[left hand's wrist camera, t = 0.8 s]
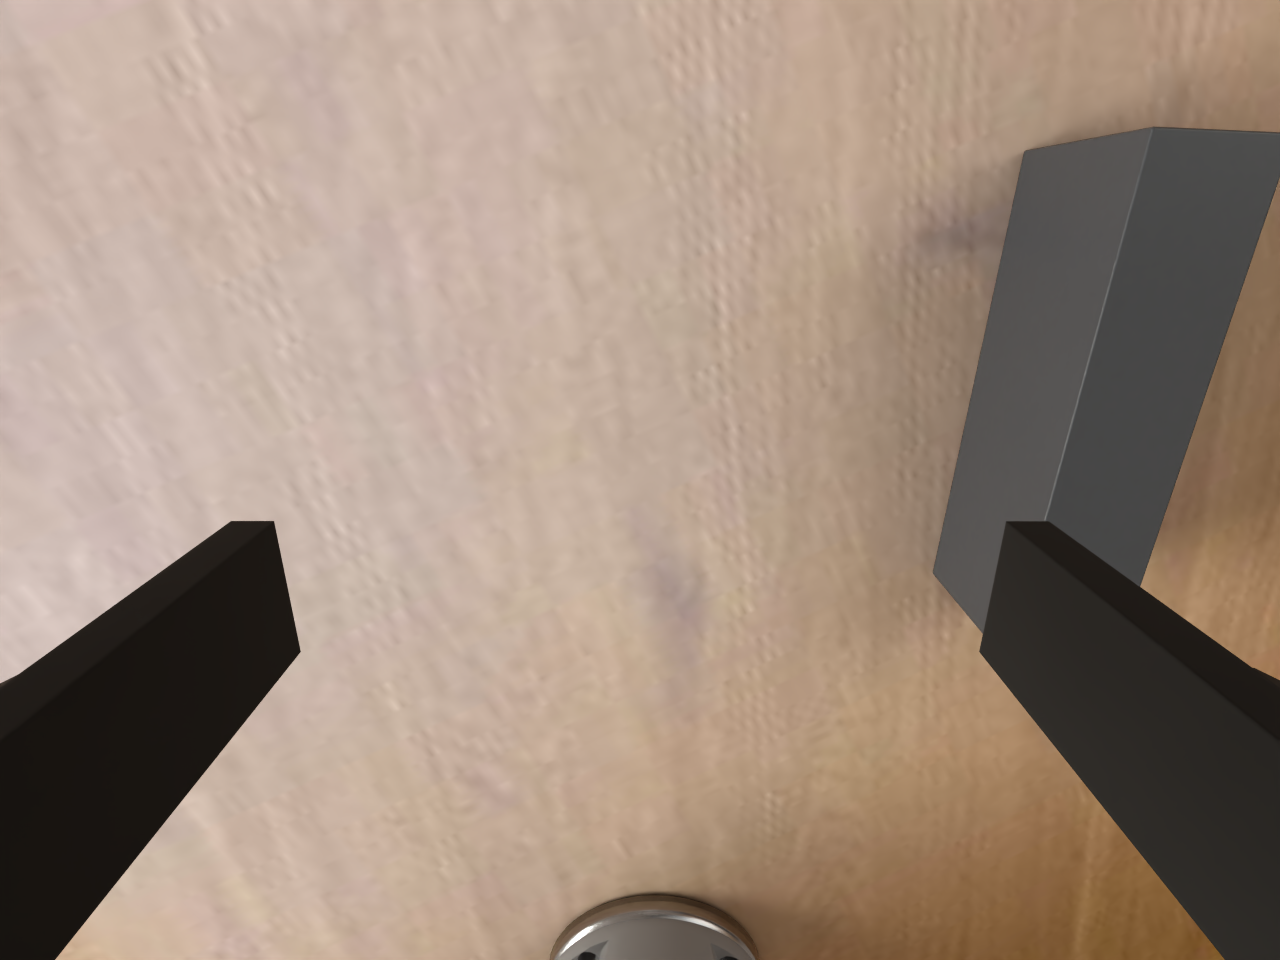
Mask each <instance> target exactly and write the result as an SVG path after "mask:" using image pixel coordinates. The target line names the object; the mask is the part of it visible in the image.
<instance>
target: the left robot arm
mask: <svg viewBox="0 0 1280 960" xmlns="http://www.w3.org/2000/svg"><path fill="white" fill-rule="evenodd" d="M300 652H301V651H300V646H299V641H298V637H297V632H296V627H295V622H294V617H293V612H292V607H291V602H290V597H289V593H288V588H287V583H286V578H285V573H284V568H283V563H282V558H281V553H280V548H279V544H278V539H277V534H276V529H275V524H274V521H231V522H229V523H228V524H227V525H225V526H224V527H222V528H221V529H220V530H218V531H217V532H216V533H214V534H213V535H211V536H210V537H209V538H207V539H206V540H204V541H203V542H202V543H200V544H199V545H197V546H196V547H195V548H193V549H192V550H191V551H189V552H188V553H186V554H185V555H184V556H182V557H181V558H179V559H178V560H177V561H175V562H174V563H173V564H171V565H170V566H168V567H167V568H166V569H164V570H163V571H161V572H160V573H159V574H157V575H156V576H154V577H153V578H152V579H150V580H149V581H148V582H146V583H145V584H143V585H142V586H141V587H139V588H138V589H136V590H135V591H134V592H132V593H131V594H130V595H128V596H127V597H125V598H124V599H123V600H121V601H120V602H118V603H117V604H116V605H114V606H113V607H111V608H110V609H109V610H107V611H106V612H105V613H103V614H102V615H100V616H99V617H98V618H96V619H95V620H93V621H92V622H91V623H89V624H88V625H87V626H85V627H84V628H82V629H81V630H80V631H78V632H77V633H75V634H74V635H73V636H71V637H70V638H68V639H67V640H66V641H64V642H63V643H62V644H60V645H59V646H57V647H56V648H55V649H53V650H52V651H50V652H49V653H48V654H46V655H45V656H44V657H42V658H41V659H39V660H38V661H37V662H35V663H34V664H32V665H31V666H30V667H28V668H27V669H26V670H24V671H23V672H21V673H20V674H19V675H17V676H15V677H13V678H10V679H8V680H6V681H4V682H2V683H0V960H55V959H56V958H57V957H58V955H59V954H60V953H61V952H62V950H63V949H64V948H65V947H66V945H67V944H68V943H69V942H70V940H71V939H72V938H73V936H74V935H75V934H76V933H77V931H78V930H79V929H80V928H81V926H82V925H83V924H84V923H85V921H86V920H87V919H88V918H89V916H90V915H91V914H92V913H93V911H94V910H95V909H96V908H97V906H98V905H99V904H100V903H101V901H102V900H103V899H104V898H105V896H106V895H107V894H108V893H109V891H110V890H111V889H112V888H113V886H114V885H115V884H116V883H117V881H118V880H119V879H120V878H121V876H122V875H123V874H124V873H125V871H126V870H127V869H128V868H129V866H130V865H131V864H132V863H133V861H134V860H135V859H136V858H137V856H138V855H139V854H140V853H141V851H142V850H143V849H144V847H145V846H146V845H147V844H148V842H149V841H150V840H151V839H152V837H153V836H154V835H155V834H156V832H157V831H158V830H159V829H160V827H161V826H162V825H163V824H164V822H165V821H166V820H167V819H168V817H169V816H170V815H171V814H172V812H173V811H174V810H175V809H176V807H177V806H178V805H179V804H180V802H181V801H182V800H183V799H184V797H185V796H186V795H187V794H188V792H189V791H190V790H191V789H192V787H193V786H194V785H195V784H196V782H197V781H198V780H199V779H200V777H201V776H202V775H203V774H204V772H205V771H206V770H207V769H208V767H209V766H210V765H211V764H212V762H213V761H214V760H215V759H216V757H217V756H218V755H219V753H220V752H221V751H222V750H223V748H224V747H225V746H226V745H227V743H228V742H229V741H230V740H231V738H232V737H233V736H234V735H235V733H236V732H237V731H238V730H239V728H240V727H241V726H242V725H243V723H244V722H245V721H246V720H247V718H248V717H249V716H250V715H251V713H252V712H253V711H254V710H255V708H256V707H257V706H258V705H259V703H260V702H261V701H262V700H263V698H264V697H265V696H266V695H267V693H268V692H269V691H270V690H271V688H272V687H273V686H274V685H275V683H276V682H277V681H278V680H279V678H280V677H281V676H282V675H283V673H284V672H285V671H286V670H287V668H288V667H289V666H290V664H291V663H292V662H293V661H294V659H295V658H296V657H297V656H298V654H299V653H300ZM979 652H980V653H981V654H982V656H983V657H984V658H985V659H986V661H987V662H988V663H989V664H990V666H991V667H992V668H993V670H994V671H995V672H996V673H997V675H998V676H999V677H1000V678H1001V680H1002V681H1003V682H1004V683H1005V685H1006V686H1007V687H1008V688H1009V690H1010V691H1011V692H1012V693H1013V695H1014V696H1015V697H1016V698H1017V700H1018V701H1019V702H1020V703H1021V705H1022V706H1023V707H1024V708H1025V710H1026V711H1027V712H1028V713H1029V715H1030V716H1031V717H1032V718H1033V720H1034V721H1035V722H1036V723H1037V725H1038V726H1039V727H1040V728H1041V730H1042V731H1043V732H1044V733H1045V735H1046V736H1047V737H1048V738H1049V740H1050V741H1051V742H1052V743H1053V745H1054V746H1055V747H1056V748H1057V750H1058V751H1059V752H1060V753H1061V755H1062V756H1063V757H1064V759H1065V760H1066V761H1067V762H1068V764H1069V765H1070V766H1071V767H1072V769H1073V770H1074V771H1075V772H1076V774H1077V775H1078V776H1079V777H1080V779H1081V780H1082V781H1083V782H1084V784H1085V785H1086V786H1087V787H1088V789H1089V790H1090V791H1091V792H1092V794H1093V795H1094V796H1095V797H1096V799H1097V800H1098V801H1099V802H1100V804H1101V805H1102V806H1103V807H1104V809H1105V810H1106V811H1107V812H1108V814H1109V815H1110V816H1111V817H1112V819H1113V820H1114V821H1115V822H1116V824H1117V825H1118V826H1119V827H1120V829H1121V830H1122V831H1123V832H1124V834H1125V835H1126V836H1127V837H1128V839H1129V840H1130V841H1131V842H1132V844H1133V845H1134V846H1135V847H1136V849H1137V850H1138V851H1139V853H1140V854H1141V855H1142V856H1143V858H1144V859H1145V860H1146V861H1147V863H1148V864H1149V865H1150V866H1151V868H1152V869H1153V870H1154V871H1155V873H1156V874H1157V875H1158V876H1159V878H1160V879H1161V880H1162V881H1163V883H1164V884H1165V885H1166V886H1167V888H1168V889H1169V890H1170V891H1171V893H1172V894H1173V895H1174V896H1175V898H1176V899H1177V900H1178V901H1179V903H1180V904H1181V905H1182V906H1183V908H1184V909H1185V910H1186V911H1187V913H1188V914H1189V915H1190V916H1191V918H1192V919H1193V920H1194V921H1195V923H1196V924H1197V925H1198V926H1199V928H1200V929H1201V930H1202V931H1203V933H1204V934H1205V935H1206V936H1207V938H1208V939H1209V940H1210V942H1211V943H1212V944H1213V945H1214V947H1215V948H1216V949H1217V950H1218V952H1219V953H1220V954H1221V955H1222V957H1223V958H1224V959H1225V960H1280V680H1278V679H1276V678H1274V677H1272V676H1270V675H1268V674H1266V673H1263V672H1261V671H1259V670H1257V669H1255V668H1252V667H1250V666H1249V665H1248V664H1246V663H1245V662H1243V661H1242V660H1241V659H1239V658H1238V657H1236V656H1235V655H1234V654H1232V653H1231V652H1230V651H1228V650H1227V649H1225V648H1224V647H1223V646H1221V645H1220V644H1218V643H1217V642H1216V641H1214V640H1213V639H1212V638H1210V637H1209V636H1207V635H1206V634H1205V633H1203V632H1202V631H1200V630H1199V629H1198V628H1196V627H1195V626H1193V625H1192V624H1191V623H1189V622H1188V621H1187V620H1185V619H1184V618H1182V617H1181V616H1180V615H1178V614H1177V613H1175V612H1174V611H1173V610H1171V609H1170V608H1169V607H1167V606H1166V605H1164V604H1163V603H1162V602H1160V601H1159V600H1157V599H1156V598H1155V597H1153V596H1152V595H1150V594H1149V593H1148V592H1146V591H1145V590H1144V589H1142V588H1141V587H1139V586H1138V585H1137V584H1135V583H1134V582H1132V581H1131V580H1130V579H1128V578H1127V577H1126V576H1124V575H1123V574H1121V573H1120V572H1119V571H1117V570H1116V569H1114V568H1113V567H1112V566H1110V565H1109V564H1107V563H1106V562H1105V561H1103V560H1102V559H1101V558H1099V557H1098V556H1096V555H1095V554H1094V553H1092V552H1091V551H1089V550H1088V549H1087V548H1085V547H1084V546H1083V545H1081V544H1080V543H1078V542H1077V541H1076V540H1074V539H1073V538H1071V537H1070V536H1069V535H1067V534H1066V533H1064V532H1063V531H1062V530H1060V529H1059V528H1058V527H1056V526H1055V525H1053V524H1052V523H1051V522H1049V521H1006V524H1005V529H1004V534H1003V539H1002V544H1001V548H1000V553H999V558H998V563H997V568H996V573H995V578H994V583H993V588H992V593H991V597H990V602H989V607H988V612H987V617H986V622H985V627H984V632H983V637H982V641H981V646H980V651H979ZM550 960H759V956H758V952H757V949H756V946H755V944H754V942H753V940H752V939H751V937H750V936H749V934H748V933H747V932H746V931H745V929H744V928H743V927H742V926H741V925H740V924H739V923H737V922H736V921H735V920H734V919H732V918H731V917H730V916H728V915H727V914H725V913H723V912H722V911H720V910H718V909H716V908H714V907H712V906H709V905H707V904H704V903H702V902H698V901H695V900H691V899H687V898H682V897H675V896H665V895H645V896H635V897H628V898H623V899H619V900H615V901H612V902H608V903H605V904H603V905H600V906H598V907H596V908H594V909H592V910H590V911H588V912H586V913H584V914H583V915H581V916H580V917H578V918H577V919H576V920H574V921H573V922H572V923H571V924H570V925H569V926H568V927H567V928H566V929H565V930H564V931H563V932H562V933H561V935H560V936H559V938H558V939H557V941H556V943H555V944H554V946H553V949H552V952H551V955H550Z"/></svg>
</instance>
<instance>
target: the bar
mask: <svg viewBox="0 0 1280 960" xmlns="http://www.w3.org/2000/svg"><path fill="white" fill-rule="evenodd" d="M1279 178H1280V132H1260V131H1238V130H1216V129H1194V128H1172V127H1149V128H1144V129H1139V130H1133V131H1128V132H1123V133H1117V134H1112V135H1106V136H1101V137H1096V138H1090V139H1085V140H1080V141H1074V142H1069V143H1063V144H1058V145H1053V146H1047V147H1042V148H1037V149H1031V150H1026V151H1025V152H1024V155H1023V160H1022V165H1021V169H1020V174H1019V178H1018V183H1017V188H1016V192H1015V197H1014V201H1013V206H1012V211H1011V215H1010V220H1009V224H1008V229H1007V234H1006V238H1005V243H1004V248H1003V252H1002V257H1001V261H1000V266H999V271H998V275H997V280H996V284H995V289H994V294H993V298H992V303H991V307H990V312H989V317H988V321H987V326H986V330H985V335H984V340H983V344H982V349H981V353H980V358H979V363H978V367H977V372H976V376H975V381H974V386H973V390H972V395H971V400H970V404H969V409H968V413H967V418H966V423H965V427H964V432H963V436H962V441H961V446H960V450H959V455H958V459H957V464H956V469H955V473H954V478H953V482H952V487H951V492H950V496H949V501H948V505H947V510H946V515H945V519H944V524H943V528H942V533H941V538H940V542H939V547H938V552H937V556H936V561H935V565H934V570H933V574H934V575H935V577H936V578H937V579H938V580H939V581H940V583H941V584H942V585H943V586H944V587H945V589H946V590H947V591H948V592H949V593H950V595H951V596H952V597H953V598H954V600H955V601H956V602H957V603H958V604H959V606H960V607H961V608H962V609H963V610H964V612H965V613H966V614H967V615H968V616H969V618H970V619H971V620H972V621H973V622H974V624H975V625H976V626H977V627H978V628H979V630H980V631H981V632H982V633H983V632H984V627H985V622H986V617H987V612H988V607H989V602H990V597H991V593H992V588H993V583H994V578H995V573H996V568H997V563H998V558H999V553H1000V548H1001V544H1002V539H1003V534H1004V529H1005V524H1006V521H1049V522H1051V523H1052V524H1053V525H1055V526H1056V527H1058V528H1059V529H1060V530H1062V531H1063V532H1064V533H1066V534H1067V535H1069V536H1070V537H1071V538H1073V539H1074V540H1076V541H1077V542H1078V543H1080V544H1081V545H1083V546H1084V547H1085V548H1087V549H1088V550H1089V551H1091V552H1092V553H1094V554H1095V555H1096V556H1098V557H1099V558H1101V559H1102V560H1103V561H1105V562H1106V563H1107V564H1109V565H1110V566H1112V567H1113V568H1114V569H1116V570H1117V571H1119V572H1120V573H1121V574H1123V575H1124V576H1126V577H1127V578H1128V579H1130V580H1131V581H1132V582H1134V583H1135V584H1137V585H1138V586H1139V587H1140V585H1141V582H1142V579H1143V576H1144V574H1145V571H1146V568H1147V565H1148V562H1149V559H1150V556H1151V553H1152V550H1153V547H1154V544H1155V541H1156V538H1157V535H1158V533H1159V530H1160V527H1161V524H1162V521H1163V518H1164V515H1165V512H1166V509H1167V506H1168V503H1169V500H1170V497H1171V494H1172V491H1173V489H1174V486H1175V483H1176V480H1177V477H1178V474H1179V471H1180V468H1181V465H1182V462H1183V459H1184V456H1185V453H1186V450H1187V447H1188V445H1189V442H1190V439H1191V436H1192V433H1193V430H1194V427H1195V424H1196V421H1197V418H1198V415H1199V412H1200V409H1201V406H1202V404H1203V401H1204V398H1205V395H1206V392H1207V389H1208V386H1209V383H1210V380H1211V377H1212V374H1213V371H1214V368H1215V365H1216V362H1217V360H1218V357H1219V354H1220V351H1221V348H1222V345H1223V342H1224V339H1225V336H1226V333H1227V330H1228V327H1229V324H1230V321H1231V318H1232V316H1233V313H1234V310H1235V307H1236V304H1237V301H1238V298H1239V295H1240V292H1241V289H1242V286H1243V283H1244V280H1245V277H1246V275H1247V272H1248V269H1249V266H1250V263H1251V260H1252V257H1253V254H1254V251H1255V248H1256V245H1257V242H1258V239H1259V236H1260V233H1261V231H1262V228H1263V225H1264V222H1265V219H1266V216H1267V213H1268V210H1269V207H1270V204H1271V201H1272V198H1273V195H1274V192H1275V189H1276V187H1277V184H1278V181H1279Z"/></svg>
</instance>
